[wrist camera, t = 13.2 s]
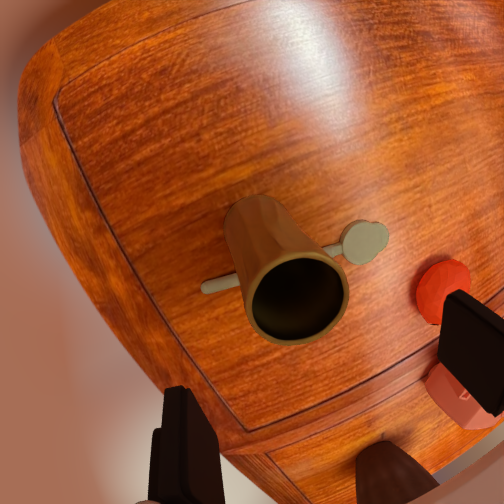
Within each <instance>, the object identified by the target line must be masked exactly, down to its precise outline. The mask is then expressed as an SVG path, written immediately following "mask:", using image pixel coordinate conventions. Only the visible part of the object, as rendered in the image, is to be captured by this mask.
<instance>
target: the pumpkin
mask: <svg viewBox="0 0 504 504" xmlns="http://www.w3.org/2000/svg"><path fill="white" fill-rule="evenodd" d="M470 283H471V281H470V272H469V270H468V268H467V267H466V266H465V265H464V264H463V263H461V262H459V261H456V260H454V259H452V260H447V261H443V262H439V263H437V264H435V265H433V266H432V267H431V268H430V269H429V270H428V271H427V272H425V274H424V276H423V277H422V279H421V280H420V282H419V285H418V287H417V290H416V300H417V306H418V308H419V311H420V313H421V315H422V316H423V318H424V319H425V320H426V322H427V323H432V324H429V325H439V324H440V325H441V323H442V314H443V304H444V301H445V299H446V296H447V295H448V294H450V293H452V292H454V291H456V290H458V289H461V290H463V291H465V292H466V293H468V294H469V291H470Z"/></svg>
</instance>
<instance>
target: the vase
mask: <svg viewBox="0 0 504 504" xmlns="http://www.w3.org/2000/svg"><path fill="white" fill-rule="evenodd" d="M223 231H224V237H225V241H226V243H227V245H228V247H229V250H230V253H231V256H232V259H233V261H234V265H235V269H236V272H237V276H238V280H239V283H240V287H241V292H242V297H243V302H244V308H245V311H246V314H247V317H248V320H249V322H250V324H251V326H252V327H253V329H254V330H255V331H256V332H257V333H258V334H259V335H260V336H262V337H263V338H264V339H266V340H267V341H269V342H271V343H274V344H278V345H284V346H291V345H301V344H306V343H310V342H312V341H314V340H317V339H319V338H321V337H323V336H324V335H326V334H327V333H328V332H329V331H331V330H332V329H333V327H334V326H335V325H336V324H337V323H338V322H339V321H340V319H341V318H342V317H343V315H344V313H345V311H346V308H347V305H348V301H349V286H348V282H347V278H346V275H345V273H344V271H343V269H342V267H341V266H340V265H339V264H338V263H337V262H336V261H335V260H334V259H333V258H332V257H331V256H330V255H328V254H327V253H326V252H325V251H324V250H323V249H322V248H321V247H320V246H319V245H318V244H317V243H316V242H315V241H314V240H313V239H312V238H311V237H310V236H309V235H307V234H306V233H305V232H304V231H303V230H302V229H301V228H300V227H299V226H298V225H297V223H296V222H295V221H294V219H293V218H292V217H291V215H290V214H289V213H288V212H287V210H286V208H285V207H284V206H283V205H282V204H281V203H280V202H279V201H277V200H276V199H274V198H272V197H269V196H265V195H251V196H248V197H245V198H243V199H241V200H239V201H238V202H236V203H235V204H234V205H233V206H232V207H231V208H230V210H229V211H228V213H227V215H226V217H225V221H224V227H223Z"/></svg>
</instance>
